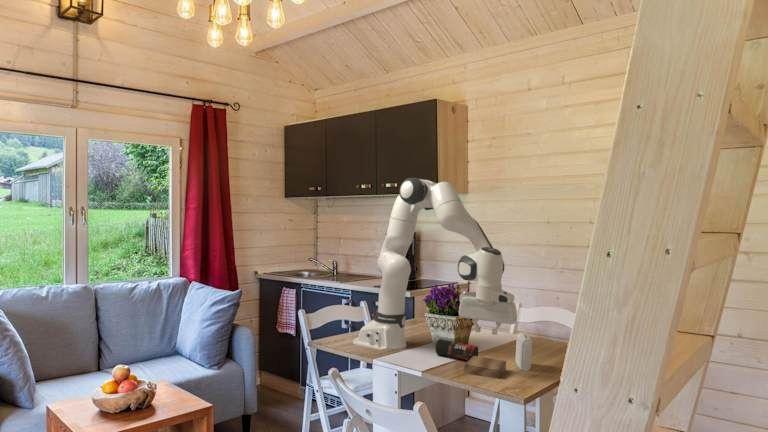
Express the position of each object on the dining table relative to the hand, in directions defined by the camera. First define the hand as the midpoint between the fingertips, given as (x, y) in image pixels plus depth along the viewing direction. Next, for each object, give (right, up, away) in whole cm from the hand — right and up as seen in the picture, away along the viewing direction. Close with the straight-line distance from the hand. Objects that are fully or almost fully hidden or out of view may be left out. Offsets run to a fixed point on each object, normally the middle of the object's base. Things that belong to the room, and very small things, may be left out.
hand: (486, 333), depth 205 cm
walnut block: (0, -15, +1) cm, 15 cm away
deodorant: (-2, -10, +12) cm, 16 cm away
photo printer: (+15, -15, +9) cm, 23 cm away
